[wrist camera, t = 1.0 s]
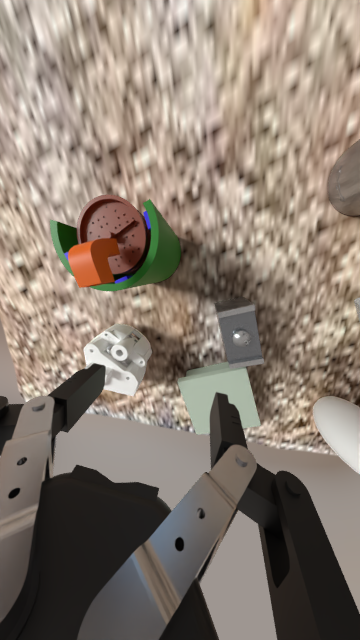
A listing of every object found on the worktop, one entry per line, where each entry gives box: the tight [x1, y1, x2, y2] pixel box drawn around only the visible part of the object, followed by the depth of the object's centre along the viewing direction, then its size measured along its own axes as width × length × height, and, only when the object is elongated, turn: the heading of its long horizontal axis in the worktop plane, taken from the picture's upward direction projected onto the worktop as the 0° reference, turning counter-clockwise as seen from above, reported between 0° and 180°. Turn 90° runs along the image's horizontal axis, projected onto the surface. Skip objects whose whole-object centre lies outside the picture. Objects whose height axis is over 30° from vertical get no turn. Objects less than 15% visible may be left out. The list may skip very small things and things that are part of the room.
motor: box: [50, 195, 181, 291], centre depth 21 cm, size 10×9×20 cm
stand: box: [178, 362, 261, 435], centre depth 34 cm, size 12×12×5 cm
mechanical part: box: [84, 324, 152, 396], centre depth 31 cm, size 11×12×12 cm
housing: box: [214, 297, 264, 369], centre depth 29 cm, size 5×9×8 cm, turn 15°
